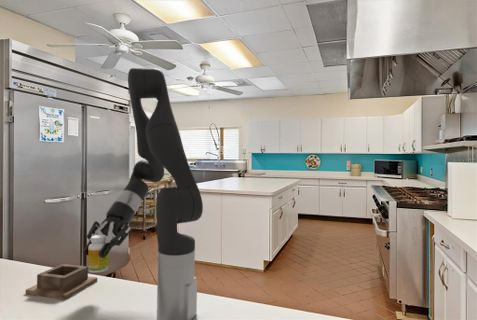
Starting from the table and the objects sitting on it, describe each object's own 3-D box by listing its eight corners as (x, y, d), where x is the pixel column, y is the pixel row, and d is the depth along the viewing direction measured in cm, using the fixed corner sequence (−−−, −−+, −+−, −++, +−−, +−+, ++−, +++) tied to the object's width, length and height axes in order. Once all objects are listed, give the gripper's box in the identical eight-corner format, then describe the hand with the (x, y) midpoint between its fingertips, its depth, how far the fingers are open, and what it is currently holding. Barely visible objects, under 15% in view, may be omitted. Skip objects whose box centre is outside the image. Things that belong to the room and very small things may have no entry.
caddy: (97, 281, 96) (97, 265, 96) (65, 299, 83) (66, 281, 83) (61, 276, 99) (61, 261, 99) (25, 293, 86) (25, 276, 86)
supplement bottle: (100, 273, 82) (100, 239, 82) (83, 272, 83) (84, 238, 83) (112, 267, 88) (112, 234, 88) (96, 265, 89) (96, 233, 89)
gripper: (101, 199, 95) (67, 245, 84) (136, 201, 90) (104, 251, 79) (114, 213, 100) (83, 258, 89) (147, 216, 95) (119, 265, 83)
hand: (93, 255), depth 84 cm, fingers closed on supplement bottle, 5 cm apart
